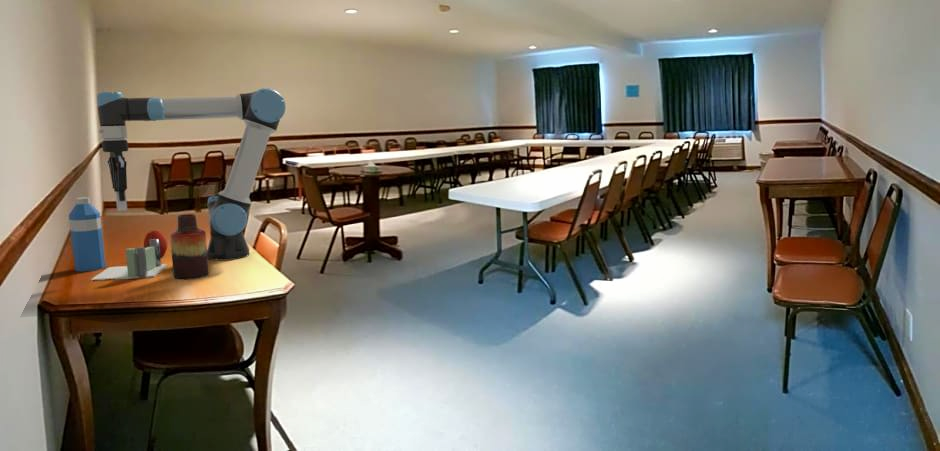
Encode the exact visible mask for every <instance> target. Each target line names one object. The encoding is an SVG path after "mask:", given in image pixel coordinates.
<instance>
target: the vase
mask: <svg viewBox="0 0 940 451" xmlns="http://www.w3.org/2000/svg"><path fill="white" fill-rule="evenodd" d="M176 220H177V222H176V223H177V224H176V225H177V226H176V227H177V229H176V230H174V231H172V232H171V233H169V234H170V235H169V238H170V239H169V240H170V248H171V249H170V250H171V252H170V253H171V261H172V274H173V278H174V279H175V280H182V281H183V280H196V279H200V278H201V277H202V278H205V277H207V276H209V275H210V273H209V260H208V257H207V249H208V246H207V234H206V231H205V230H204V229H200V228H198V225H197V224H198V223H197V219H196V214H193V213H189V214H188V213H187V214H184V213H183V214H178V215H177V219H176ZM202 278H201V279H202Z"/></svg>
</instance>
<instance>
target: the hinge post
mask: <svg viewBox="0 0 940 451" xmlns="http://www.w3.org/2000/svg"><path fill="white" fill-rule="evenodd" d="M149 242H150V247H154V250H155V260H156V267H158V266H161V264H162V260H161V259H162V257H160V247H159V239H151V240H149Z"/></svg>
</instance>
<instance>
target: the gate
mask: <svg viewBox="0 0 940 451" xmlns="http://www.w3.org/2000/svg"><path fill="white" fill-rule="evenodd" d="M136 248H137V247H136ZM136 248H134V247H133V248H132V247H131V248H128V247H127V248H126V249H125V258H126V266H127V269H128V277H136V276H138V275H139V269H138V259H137V249H136ZM145 254H146V264H147V271H148V270H150V269H152V268H154V267H156V260H155V250H154V247H147V248H145Z"/></svg>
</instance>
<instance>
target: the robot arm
mask: <svg viewBox="0 0 940 451" xmlns="http://www.w3.org/2000/svg"><path fill="white" fill-rule="evenodd" d="M96 102H97V104H96V105H97V113H98V114H97V115H98V120H99V121H98V122H99V127H100V128H99V130H98V133H100V134H101V135H100V136H101V137H100V138H101V139H102V141H101V148H102V151H103V153H109V157H108V159H107V164H108V166H109V172H110V173H109V174H110V178H111V185H112V189H113V190H114V194H115V200H116V201H115V202H116V210H117V212H123V211H128V202H127V193H126V191H127V189H128V182H127V179H128V178H127V177H128V176H127V161H126V159H125V156H124V155H123V154H124V152H128V151H129V143H128V140H127V138H128V133H127V125H126V122H136V121H137V122H138V121H139V122H140V121H141V122H151V121H152V122H156V121H170V120H171V121H172V120H173V121H174V120H176V121H177V120H201V119H202V120H204V119H205V120H206V119H227V118H229V119H230V118H235V119H236V118H237V119H239V120H241V121H244V124H245V128H244V132H243V135H242V137H241V141H240V144H239V146H238V149H237V151H236V154H235V157H234V158H235V159H234V160H233V163H232V167H231V170H230V171H229V172H230V173H229V175H228V179H227V182H226V184H225V188H224V189H223V190H222V191H221V190H220V191H219V192H218V193H217V195H216V196H209V197H208V199H207V205H206V206H207V208H208V209H207V212H208V223H209V235H210V238H209V242H208V246H207V257H208V259H209V260H216V261H217V260H218V261H224V260H226V261H227V260H234V259H241V258H245V256H246V257H248V256H249V255H250V248H249V245H248V243H247V241H246V238H245V236H244V229H245V228H246V226H247V224H248V215H249V211H250V209H251V205H252V201H251V198H250V194H251V192H252V189H253V187H254V184H255V180H256V178H257V175H258V172H259V169H260V166H261V163H262V160H263V157H264V154H265V151H266V148H267V145H268V142H269V141H270V136H271V135H272V134H274V133H276V132H277V129H278V126H279V123H280V121H281V119H282V118H283V117H284V115H285V112H286V102H285V99H284V97H283V96H282V95H281V94H280V93H279V92H278V91H277V90H275V89H273V88H269V87H268V88H267V87H265V88H260V89H258V90H255V91H252V92H247V93H238V94H237V95H236V96H214V97H209V96H207V97H179V98H178V97H176V98H175V97H174V98H161V97H153V96H152V97H131V98H130V97H129V98H128V97H124V96H123V93H122V92H121V91H100V92H98V93H97V95H96ZM247 255H248V256H247Z"/></svg>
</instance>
